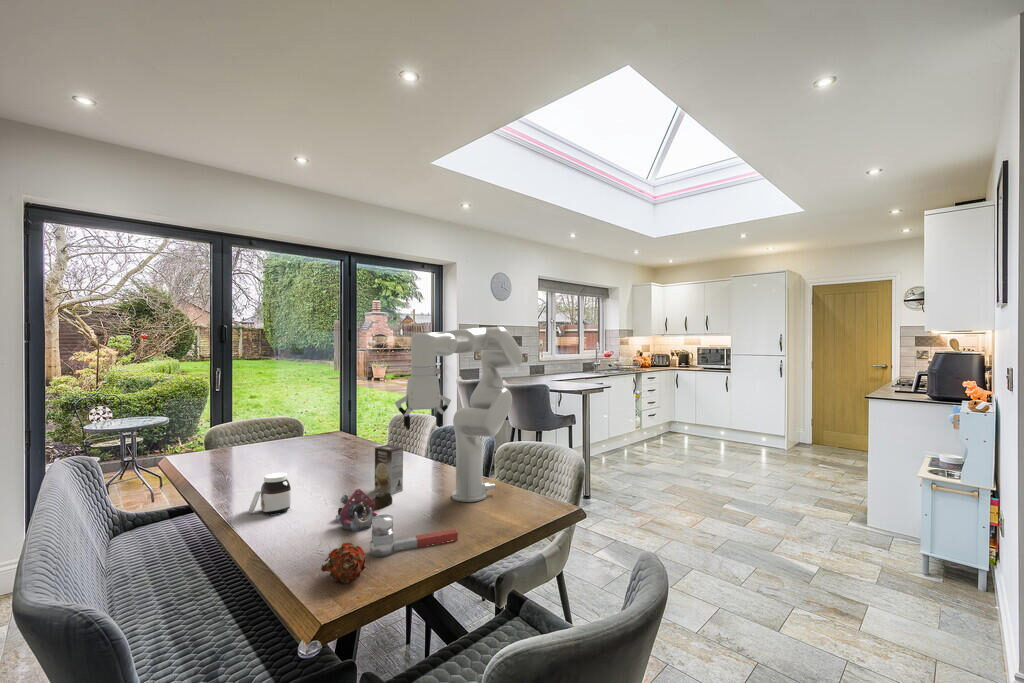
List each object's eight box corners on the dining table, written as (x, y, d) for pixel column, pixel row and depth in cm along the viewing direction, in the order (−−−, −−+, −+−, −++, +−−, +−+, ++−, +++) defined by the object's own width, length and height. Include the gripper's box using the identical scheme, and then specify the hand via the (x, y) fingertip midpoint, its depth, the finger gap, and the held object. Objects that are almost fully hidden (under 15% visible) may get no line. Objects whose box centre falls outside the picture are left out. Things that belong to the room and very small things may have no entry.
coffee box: (373, 490, 167) (373, 447, 167) (386, 486, 173) (386, 444, 173) (390, 495, 162) (390, 450, 163) (403, 490, 168) (404, 447, 168)
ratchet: (453, 534, 128) (453, 516, 128) (459, 542, 123) (459, 524, 123) (368, 549, 118) (368, 530, 119) (371, 559, 113) (371, 539, 113)
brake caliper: (352, 529, 126) (339, 489, 131) (336, 544, 131) (324, 505, 136) (387, 518, 134) (374, 481, 139) (371, 532, 140) (359, 496, 145)
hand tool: (343, 522, 137) (343, 507, 137) (336, 519, 140) (337, 504, 140) (396, 506, 151) (396, 493, 151) (389, 504, 154) (390, 490, 154)
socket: (391, 535, 120) (391, 513, 121) (394, 543, 116) (394, 519, 116) (370, 539, 118) (370, 516, 118) (373, 547, 114) (373, 523, 114)
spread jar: (294, 511, 146) (294, 475, 146) (255, 521, 138) (256, 483, 138) (280, 503, 154) (280, 469, 154) (243, 512, 146) (243, 475, 146)
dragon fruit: (355, 598, 98) (332, 586, 107) (382, 563, 104) (358, 554, 112) (330, 573, 96) (308, 562, 104) (359, 539, 101) (336, 531, 109)
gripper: (447, 371, 147) (446, 423, 147) (393, 372, 140) (392, 427, 140) (453, 372, 140) (453, 427, 140) (397, 373, 133) (397, 431, 133)
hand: (423, 427), depth 140 cm, fingers open, 9 cm apart
